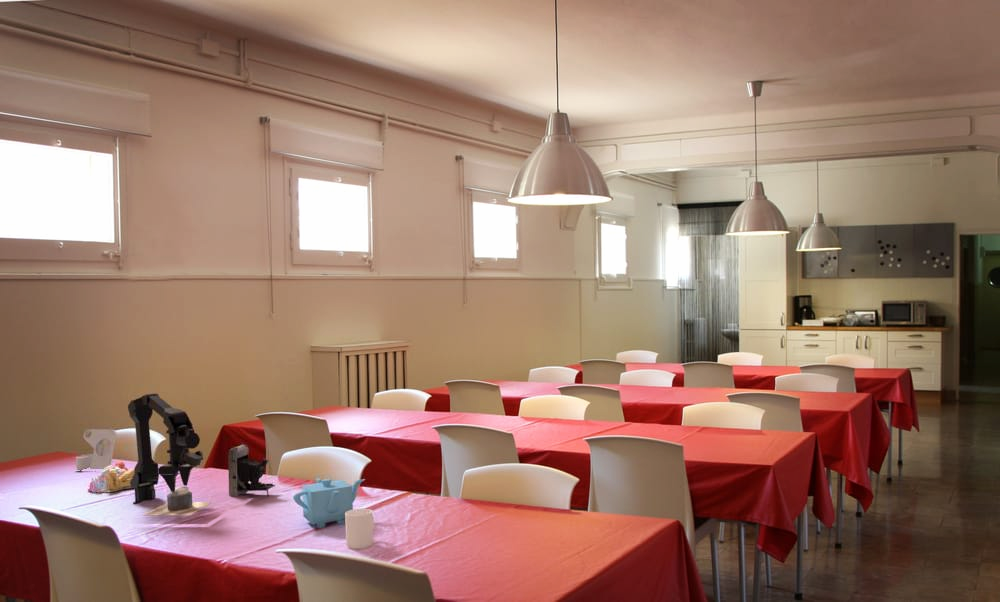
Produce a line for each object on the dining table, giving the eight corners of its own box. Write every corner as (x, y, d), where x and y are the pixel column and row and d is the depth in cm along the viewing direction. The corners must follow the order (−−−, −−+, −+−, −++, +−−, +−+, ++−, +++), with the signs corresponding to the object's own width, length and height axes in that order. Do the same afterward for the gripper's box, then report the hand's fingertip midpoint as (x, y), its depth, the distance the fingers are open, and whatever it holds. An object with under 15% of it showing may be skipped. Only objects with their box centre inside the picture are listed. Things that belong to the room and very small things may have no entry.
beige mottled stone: (166, 499, 304) (166, 491, 304) (176, 494, 312) (176, 486, 312) (183, 499, 304) (182, 491, 304) (192, 494, 311) (192, 486, 311)
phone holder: (73, 471, 387) (71, 432, 386) (88, 466, 396) (87, 428, 396) (106, 472, 383) (104, 432, 382) (120, 467, 393) (119, 428, 392)
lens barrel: (163, 510, 304) (162, 497, 304) (174, 504, 313) (174, 491, 312) (185, 510, 303) (184, 496, 303) (196, 504, 312) (195, 491, 311)
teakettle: (290, 528, 279) (288, 484, 279) (318, 513, 297) (316, 472, 297) (341, 531, 274) (339, 487, 274) (367, 516, 292) (365, 474, 292)
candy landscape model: (159, 483, 356) (158, 462, 356) (108, 496, 336) (107, 473, 336) (123, 478, 369) (122, 457, 369) (72, 490, 349) (71, 468, 349)
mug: (362, 536, 267) (361, 504, 267) (385, 539, 264) (383, 506, 264) (340, 548, 256) (339, 514, 256) (363, 550, 253) (362, 516, 253)
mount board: (142, 518, 299) (142, 515, 299) (167, 505, 317) (167, 502, 317) (190, 518, 297) (190, 515, 297) (213, 505, 315) (213, 501, 315)
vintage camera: (264, 501, 320) (264, 449, 320) (227, 498, 323) (227, 447, 323) (276, 495, 330) (276, 444, 329) (240, 493, 333) (240, 442, 332)
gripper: (186, 450, 297) (188, 494, 298) (210, 441, 316) (211, 482, 316) (156, 451, 299) (158, 495, 299) (182, 441, 317) (183, 482, 317)
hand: (179, 488), depth 308 cm, fingers open, 9 cm apart
